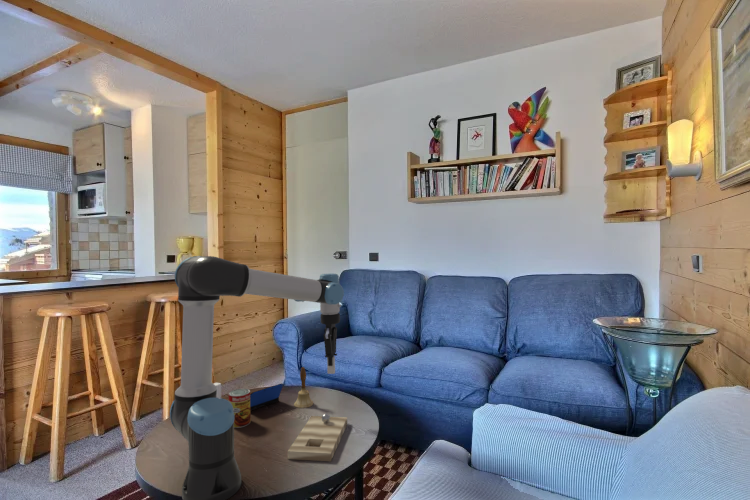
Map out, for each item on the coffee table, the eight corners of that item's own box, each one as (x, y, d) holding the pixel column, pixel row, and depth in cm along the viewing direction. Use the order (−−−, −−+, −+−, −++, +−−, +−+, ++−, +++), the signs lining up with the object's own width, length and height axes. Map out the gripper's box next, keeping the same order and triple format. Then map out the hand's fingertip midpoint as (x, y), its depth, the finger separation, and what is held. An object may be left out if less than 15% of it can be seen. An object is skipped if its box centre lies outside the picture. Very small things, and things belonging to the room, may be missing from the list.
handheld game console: (268, 396, 175) (268, 376, 176) (284, 404, 166) (284, 382, 166) (235, 406, 164) (235, 385, 164) (250, 415, 155) (250, 392, 155)
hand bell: (314, 406, 162) (313, 369, 162) (294, 409, 160) (293, 371, 160) (312, 399, 170) (311, 363, 170) (293, 401, 168) (292, 365, 168)
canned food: (235, 429, 142) (235, 397, 142) (225, 423, 147) (224, 392, 147) (254, 422, 148) (254, 391, 148) (243, 417, 153) (243, 386, 153)
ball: (329, 424, 140) (328, 415, 140) (320, 424, 140) (320, 415, 140) (331, 420, 143) (331, 412, 143) (322, 420, 143) (322, 411, 143)
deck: (330, 461, 120) (330, 453, 120) (287, 459, 121) (287, 451, 121) (347, 424, 145) (347, 417, 145) (311, 422, 147) (311, 416, 147)
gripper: (335, 315, 144) (336, 378, 144) (343, 310, 156) (344, 368, 156) (316, 315, 144) (317, 378, 144) (325, 310, 157) (326, 367, 157)
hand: (331, 373), depth 150 cm, fingers closed
